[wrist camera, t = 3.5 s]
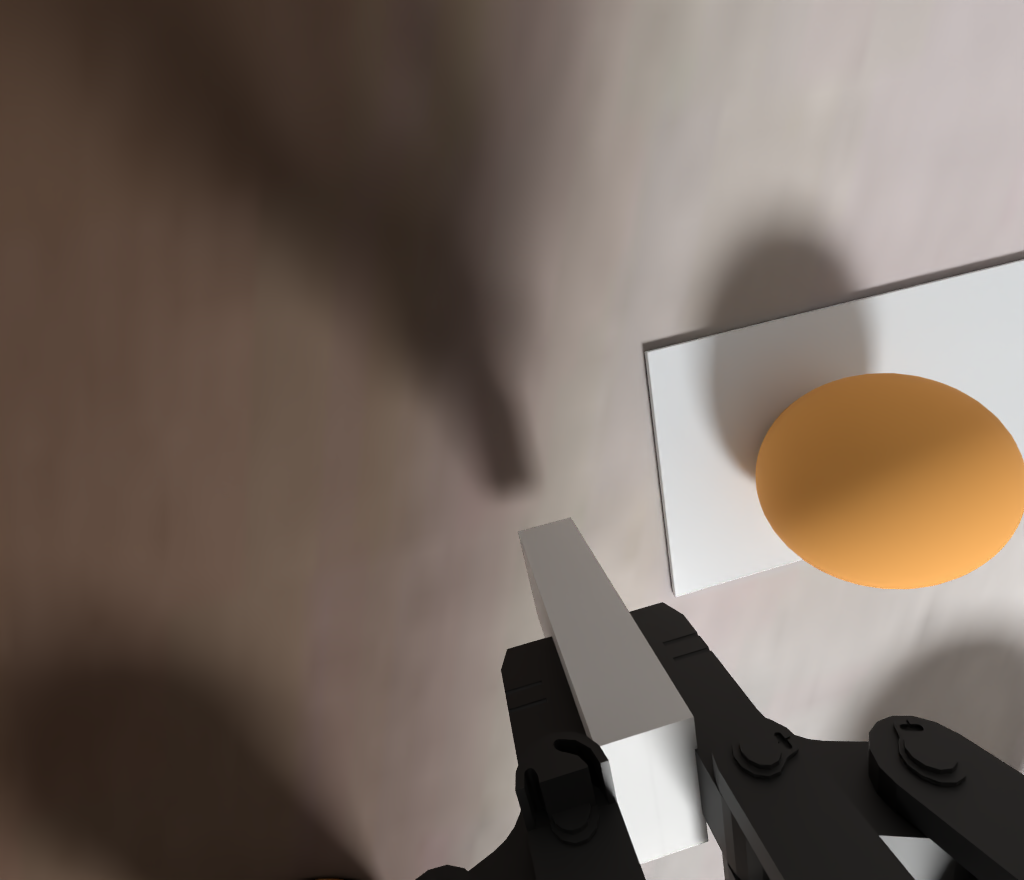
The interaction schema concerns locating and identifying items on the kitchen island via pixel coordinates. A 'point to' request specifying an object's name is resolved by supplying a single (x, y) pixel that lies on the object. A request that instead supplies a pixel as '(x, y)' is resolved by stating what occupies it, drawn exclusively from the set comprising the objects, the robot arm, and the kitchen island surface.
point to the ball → (891, 481)
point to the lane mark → (793, 373)
